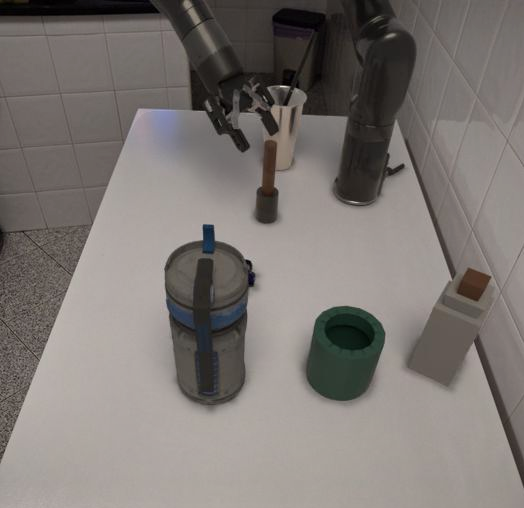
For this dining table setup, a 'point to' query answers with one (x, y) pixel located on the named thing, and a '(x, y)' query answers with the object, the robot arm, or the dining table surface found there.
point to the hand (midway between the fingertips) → (261, 141)
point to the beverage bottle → (208, 317)
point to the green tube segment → (344, 352)
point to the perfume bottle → (453, 326)
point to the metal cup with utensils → (288, 113)
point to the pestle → (268, 186)
